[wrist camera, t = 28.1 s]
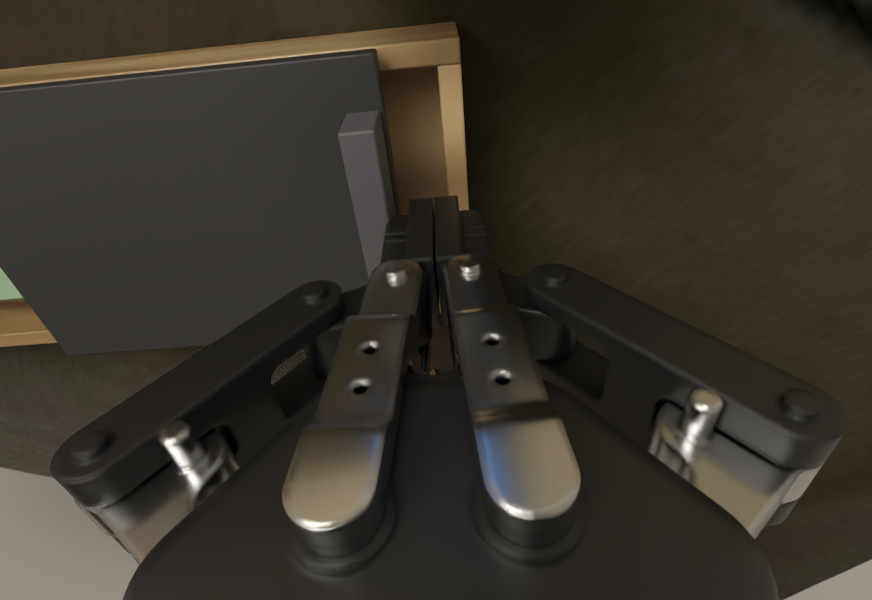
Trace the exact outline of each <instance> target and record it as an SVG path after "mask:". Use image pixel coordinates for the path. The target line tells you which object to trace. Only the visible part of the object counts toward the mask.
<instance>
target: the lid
mask: <svg viewBox="0 0 872 600" xmlns="http://www.w3.org/2000/svg"><path fill="white" fill-rule="evenodd" d="M394 216H401V208H400V201H399V194H398V188H397V181H396V174H395V168H394V161H393V154H392V148H391V141H390V134H389V128H388V121H387V114H386V108H385V101H384V94H383V88H382V81H381V74H380V67H379V61H378V54H377V50H376V49H374V48H373V49H363V50H354V51H344V52H334V53H325V54H315V55H305V56H296V57H286V58H277V59H267V60H257V61H248V62H238V63H228V64H219V65H209V66H200V67H190V68H180V69H171V70H161V71H151V72H142V73H132V74H123V75H113V76H103V77H94V78H84V79H75V80H65V81H55V82H46V83H36V84H26V85H17V86H7V87H0V268H1V269H2V270H3V272H4V273H5V274H6V276H7V277H8V278H9V280H10V281H11V282H12V284H13V285H14V286H15V288H16V289H17V290H18V291H19V293H20V294H21V295H22V297H23V298H24V299H25V301H26V302H27V303H28V305H29V306H30V307H31V308H32V310H33V311H34V312H35V314H36V315H37V316H38V318H39V319H40V320H41V322H42V323H43V324H44V325H45V327H46V328H47V329H48V331H49V332H50V333H51V335H52V336H53V337H54V339H55V340H56V341H57V343H58V344H59V345H60V346H61V348H62V349H63V350H64V352H65V353H66V354H67V355H68V356H73V355H86V354H99V353H112V352H125V351H138V350H152V349H165V348H178V347H191V346H204V345H211V344H212V343H214V342H215V341H217V340H218V339H220V338H221V337H223V336H224V335H226V334H227V333H229V332H230V331H232V330H233V329H235V328H236V327H238V326H239V325H241V324H243V323H244V322H246V321H247V320H249V319H250V318H252V317H253V316H255V315H256V314H258V313H259V312H261V311H262V310H264V309H265V308H267V307H268V306H270V305H271V304H273V303H275V302H276V301H278V300H279V299H281V298H282V297H284V296H285V295H287V294H288V293H290V292H291V291H293V290H294V289H296V288H297V287H299V286H301V285H303V284H305V283H308V282H312V281H318V280H328V281H332V282H335V283H337V284H338V285H339V286H340V287H341V290H342V293H343V292H347V291H350V290H354V289H357V288H360V287H362V286H365V285H366V284H368V281H369V277H370V274H371V272H372V271H373V270H374V269H375V268H376V267H377V266H379V265H380V263H381V256H382V249H383V243H384V236H385V229H386V224H387V223H388V222H389V221H390V220H391V219H392V218H393V217H394Z"/></svg>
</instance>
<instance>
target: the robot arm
mask: <svg viewBox="0 0 872 600" xmlns="http://www.w3.org/2000/svg"><path fill="white" fill-rule="evenodd" d="M439 299H440V305H439ZM440 309H441V319H442V327H448V329H449V340H450V350H451V356H452V363H453V369H454V371H450V372H446V373H442V374H438V375H429V369H430V359H431V338H432V328H439V327H440ZM577 333H578V334H580V335H581V336H583V337H585V338H586V339H588V340H590V341H591V342H593V343H595V344H597V345H598V346H599V347H600V348H601V349H602V350H603V351H604V352H605V354H606V356H607V358H608V359H606V358H605V357H603V356H601V355H600V354H598V353H596V352H595V351H593V350H592V349H590V348H588V347H587V346H585V345H583V344H582V343H580V342H578V341H577ZM302 347H303V348H304V351H305V354H306V357H307V358H306V359H305V360H304V361H303V362H301V363H300V364H299V365H297V366H296V367H295V368H294V369H292V370H291V371H290V372H288V373H287V374H286V375H285V376H283V377H282V378H281V379H280V380H278V381H277V382H276V383H274V384H273V385H271V377H272V374H273V372H274V370H275V369H276V368H277V367H278V366H279V365H280V364H281V363H283V362H284V361H285V360H287V359H288V358H289V357H291V356H292V355H293V354H295V353H296V352H297V351H299V350H300V349H301V348H302ZM847 428H848V418H847V415H846V413H845V411H844V409H843V408H842V407H841V405H840V404H839V403H838V402H837V401H836V400H835V399H834V398H833V397H831V396H830V395H829V394H827V393H826V392H824V391H823V390H821V389H819V388H817V387H815V386H813V385H811V384H809V383H807V382H805V381H803V380H801V379H799V378H797V377H795V376H793V375H791V374H788V373H786V372H784V371H782V370H780V369H778V368H776V367H774V366H772V365H770V364H768V363H766V362H764V361H762V360H760V359H758V358H756V357H754V356H752V355H750V354H748V353H746V352H744V351H742V350H739V349H737V348H735V347H733V346H731V345H729V344H727V343H725V342H723V341H721V340H719V339H717V338H715V337H713V336H711V335H709V334H707V333H705V332H703V331H701V330H699V329H697V328H695V327H692V326H690V325H688V324H686V323H684V322H682V321H680V320H678V319H676V318H674V317H672V316H670V315H668V314H666V313H664V312H662V311H660V310H658V309H656V308H654V307H652V306H650V305H648V304H645V303H643V302H641V301H639V300H637V299H635V298H633V297H631V296H629V295H627V294H625V293H623V292H621V291H619V290H617V289H615V288H613V287H611V286H609V285H607V284H605V283H603V282H601V281H599V280H596V279H594V278H592V277H590V276H588V275H586V274H584V273H582V272H580V271H578V270H576V269H574V268H572V267H569V266H566V265H562V264H545V265H540V266H537V267H535V268H533V269H532V270H531V271H530V272H529V273H528V275H527V278H521V277H514V276H510V275H507V274H504V273H502V272H500V271H499V270H498V269H497V268H496V265H495V263H494V262H493V261H492V259H491V253H490V248H489V242H488V237H487V231H486V226H485V220H484V217H483V216H482V215H481V214H480V213H479V212H478V211H477V210H476V209H475V210H462V211H459V204H458V195H454V196H441V197H435V214H434V204H433V197H430V198H418V199H410V200H409V211H408V215H401V216H394V217H393V218H392V219H391V220H390V221H389V222H388V223H387V224H386V229H385V236H384V243H383V249H382V256H381V263H380V265H379V266H377V267H376V268H375V269H374V270H373V271H372V272H371V274H370V277H369V281H368V284H366V285H365V286H362V287H360V288H357V289H354V290H350V291H347V292H343V293H342V290H341V287H340V286H339V285H338V284H337V283H335V282H332V281H328V280H318V281H312V282H308V283H305V284H303V285H301V286H299V287H297V288H296V289H294V290H293V291H291V292H290V293H288V294H287V295H285V296H284V297H282V298H281V299H279V300H278V301H276V302H275V303H273V304H271V305H270V306H268V307H267V308H265V309H264V310H262V311H261V312H259V313H258V314H256V315H255V316H253V317H252V318H250V319H249V320H247V321H246V322H244V323H243V324H241V325H239V326H238V327H236V328H235V329H233V330H232V331H230V332H229V333H227V334H226V335H224V336H223V337H221V338H220V339H218V340H217V341H215V342H214V343H212V344H211V345H209V346H207V347H206V348H204V349H203V350H201V351H200V352H198V353H197V354H195V355H194V356H192V357H191V358H189V359H188V360H186V361H185V362H183V363H182V364H180V365H178V366H177V367H175V368H174V369H172V370H171V371H169V372H168V373H166V374H165V375H163V376H162V377H160V378H159V379H157V380H156V381H154V382H153V383H151V384H150V385H148V386H146V387H145V388H143V389H142V390H140V391H139V392H137V393H136V394H134V395H133V396H131V397H130V398H128V399H127V400H125V401H124V402H122V403H121V404H119V405H118V406H116V407H114V408H113V409H111V410H110V411H108V412H107V413H105V414H104V415H102V416H101V417H99V418H98V419H96V420H95V421H93V422H92V423H90V424H89V425H87V426H86V427H84V428H82V429H81V430H79V431H78V432H76V433H75V434H74V435H72V436H71V437H70V438H69V439H67V440H66V441H65V442H64V443H63V444H62V445H61V447H60V448H59V449H58V450H57V452H56V453H55V455H54V457H53V459H52V461H51V466H50V471H51V474H52V476H53V477H54V478H55V479H56V480H57V481H58V482H59V483H60V484H61V485H62V486H63V487H64V488H65V489H66V490H67V491H68V492H69V493H70V494H71V495H72V496H73V497H74V500H75V502H76V504H77V505H78V506H79V507H80V508H81V509H82V510H83V511H84V512H85V513H86V514H87V515H88V516H89V517H90V518H91V519H92V520H93V521H94V522H95V523H96V524H97V525H98V526H99V527H100V528H101V529H102V530H103V531H104V532H105V533H106V534H107V535H109V536H112V537H113V538H114V539H115V540H116V541H117V542H118V543H119V544H120V545H121V546H122V547H123V548H124V549H125V550H126V551H127V552H128V553H130V554H131V555H132V556H133V558H134V559H135V560H136V561H137V563H138V564H139V567H138V568H137V570H136V572H135V574H134V576H133V577H132V579H131V581H130V583H129V585H128V587H127V590H126V592H125V595H124V597H123V600H779V597H778V591H777V586H776V582H775V579H774V576H773V573H772V570H771V568H770V566H769V564H768V562H767V559H766V557H765V555H764V553H763V552H762V550H761V549H760V547H759V545H758V544H757V542H756V541H755V539H756V537H757V536H758V535H759V533H760V532H761V531H762V529H763V528H764V527H765V526H774V525H778V524H780V523H782V522H783V521H784V520H785V519H786V518H787V516H788V515H789V514H790V512H791V511H792V509H793V508H794V506H795V505H796V503H797V502H798V500H799V499H800V497H801V496H802V495H803V493H804V492H805V490H806V489H807V487H808V486H809V484H810V483H811V481H812V480H813V479H814V477H815V476H816V474H817V473H818V471H819V470H820V468H821V467H822V465H823V464H824V462H825V461H826V460H827V458H828V457H829V455H830V454H831V452H832V451H833V449H834V448H835V446H836V445H837V444H838V442H839V441H840V439H841V438H842V436H843V435H844V433H845V432H846V430H847Z"/></svg>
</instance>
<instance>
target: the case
mask: <svg viewBox="0 0 872 600" xmlns="http://www.w3.org/2000/svg"><path fill="white" fill-rule="evenodd" d="M373 48H374V49H376V50H377V54H378V61H379V67H380V74H381V81H382V88H383V94H384V101H385V108H386V114H387V121H388V128H389V134H390V141H391V148H392V154H393V161H394V168H395V174H396V181H397V188H398V194H399V201H400V208H401V215H408V211H409V200H410V199H418V198H430V197H433V204H434V214H435V197H441V196H454V195H458V204H459V211H462V210H469V198H468V180H467V162H466V144H465V126H464V108H463V90H462V71H461V63H460V61H461V54H460V39H459V35H458V31H457V28H456V23H455V22H444V23H435V24H425V25H416V26H407V27H397V28H388V29H378V30H369V31H359V32H350V33H340V34H331V35H321V36H312V37H303V38H293V39H284V40H274V41H265V42H255V43H246V44H236V45H227V46H217V47H208V48H198V49H189V50H180V51H170V52H161V53H151V54H142V55H132V56H123V57H113V58H104V59H94V60H85V61H76V62H66V63H57V64H47V65H38V66H28V67H19V68H9V69H0V87H7V86H17V85H26V84H36V83H46V82H55V81H65V80H75V79H84V78H94V77H103V76H113V75H123V74H132V73H142V72H151V71H161V70H171V69H180V68H190V67H200V66H209V65H219V64H228V63H238V62H248V61H257V60H267V59H277V58H286V57H296V56H305V55H315V54H325V53H334V52H344V51H354V50H363V49H373ZM439 305H440V299H439ZM440 313H441V309H440ZM47 343H57V341H56V340H55V339H54V337H53V336H52V335H51V333H50V332H49V331H48V329H47V328H46V327H45V325H44V324H43V323H42V322H41V320H40V319H39V318H38V316H37V315H36V314H35V312H34V311H33V310H32V308H31V307H30V306H29V305H28V303H27V302H26V301H25V299H24V298H21V299H9V300H0V347H8V346H21V345H34V344H47Z"/></svg>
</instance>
